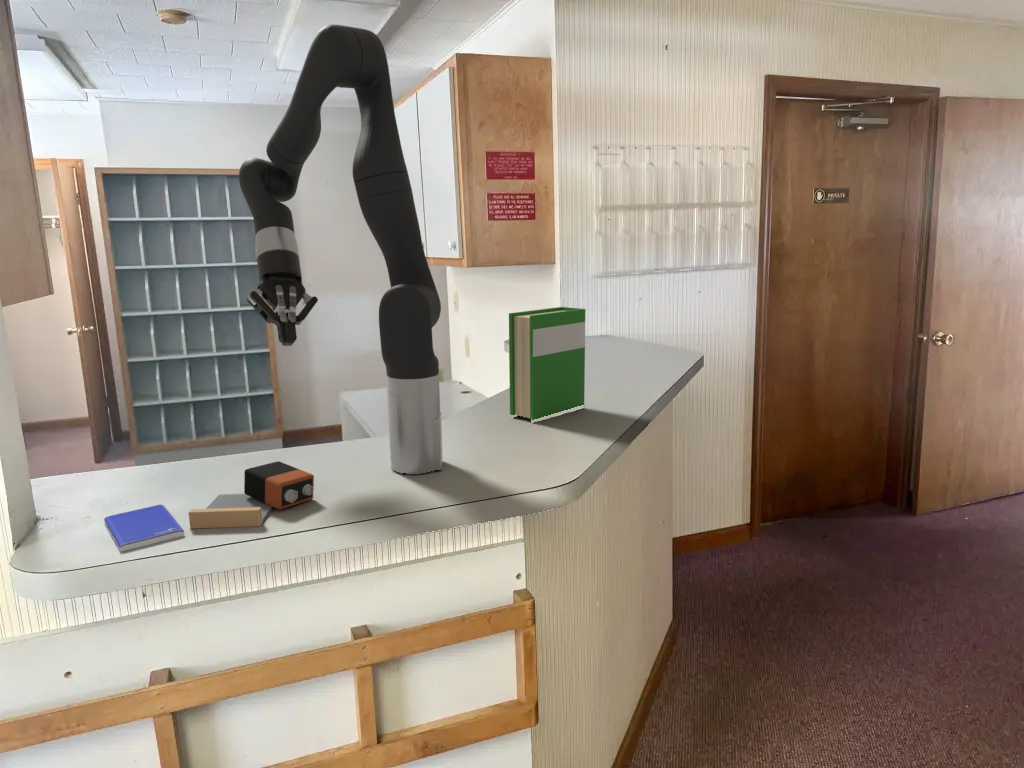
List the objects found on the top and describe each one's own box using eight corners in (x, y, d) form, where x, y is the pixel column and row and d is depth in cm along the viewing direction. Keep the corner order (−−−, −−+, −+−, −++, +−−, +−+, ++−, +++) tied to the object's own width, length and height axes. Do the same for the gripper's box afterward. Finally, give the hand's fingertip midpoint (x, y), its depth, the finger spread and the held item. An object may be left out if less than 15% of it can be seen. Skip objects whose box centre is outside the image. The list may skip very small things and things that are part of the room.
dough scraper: (281, 495, 115) (280, 481, 114) (260, 526, 103) (258, 510, 102) (219, 497, 114) (217, 482, 114) (190, 528, 102) (188, 512, 102)
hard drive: (183, 528, 100) (163, 503, 109) (119, 544, 95) (103, 516, 104) (185, 538, 100) (164, 512, 110) (120, 555, 95) (105, 526, 105)
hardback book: (533, 423, 156) (532, 315, 151) (509, 417, 161) (508, 313, 156) (584, 409, 168) (585, 308, 163) (561, 404, 173) (561, 306, 168)
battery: (243, 468, 111) (283, 485, 106) (279, 459, 117) (318, 475, 111) (242, 494, 112) (282, 512, 107) (278, 484, 118) (318, 501, 112)
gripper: (247, 243, 123) (257, 334, 119) (319, 252, 132) (331, 338, 127) (235, 262, 129) (244, 350, 125) (305, 270, 137) (316, 353, 133)
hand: (288, 344), depth 126 cm, fingers closed
